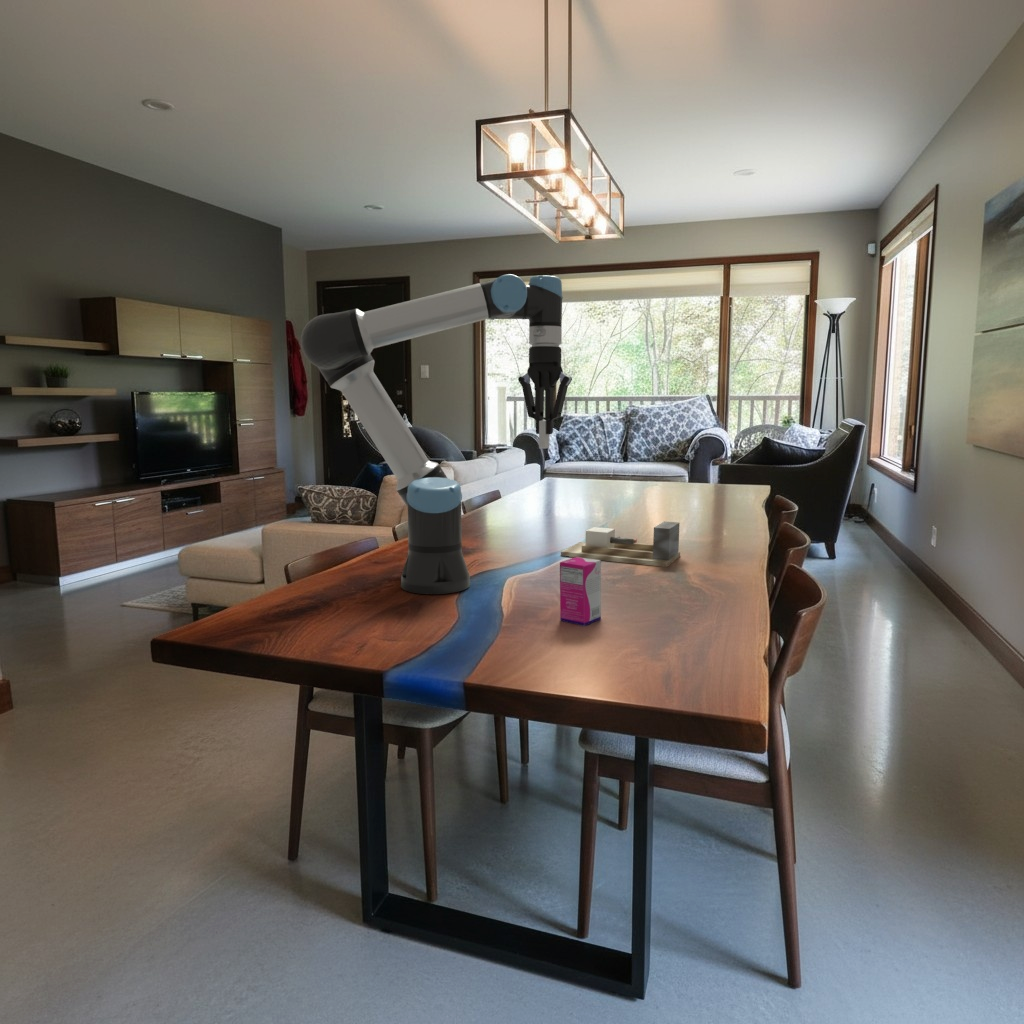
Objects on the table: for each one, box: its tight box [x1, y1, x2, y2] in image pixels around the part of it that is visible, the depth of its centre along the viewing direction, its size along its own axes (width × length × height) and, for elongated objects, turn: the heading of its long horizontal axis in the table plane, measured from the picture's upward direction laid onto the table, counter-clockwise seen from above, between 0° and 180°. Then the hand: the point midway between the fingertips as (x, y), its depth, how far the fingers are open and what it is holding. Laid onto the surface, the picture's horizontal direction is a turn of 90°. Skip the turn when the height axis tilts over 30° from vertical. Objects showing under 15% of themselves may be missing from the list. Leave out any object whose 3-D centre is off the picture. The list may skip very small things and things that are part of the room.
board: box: [560, 521, 681, 568], centre depth 197 cm, size 28×14×9 cm, turn 64°
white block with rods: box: [585, 526, 635, 548], centre depth 200 cm, size 12×10×5 cm
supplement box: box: [559, 557, 602, 627], centre depth 142 cm, size 6×6×12 cm
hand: (544, 448), depth 178 cm, fingers closed
